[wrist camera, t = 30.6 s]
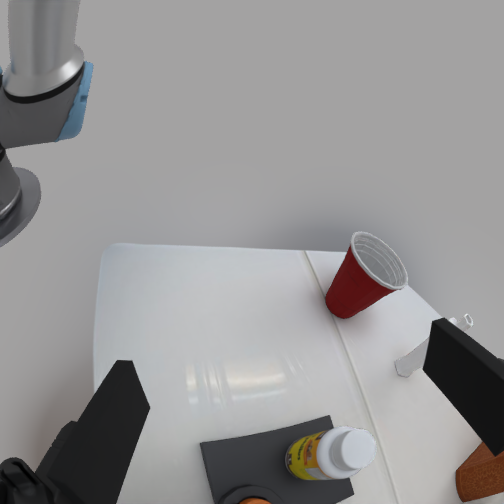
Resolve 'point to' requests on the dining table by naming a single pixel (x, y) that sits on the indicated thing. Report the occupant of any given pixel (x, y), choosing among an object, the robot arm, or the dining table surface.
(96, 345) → the dining table surface
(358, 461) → the supplement bottle
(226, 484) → the scale
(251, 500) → the button
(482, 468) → the book
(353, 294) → the plastic cup
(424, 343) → the perfume bottle
